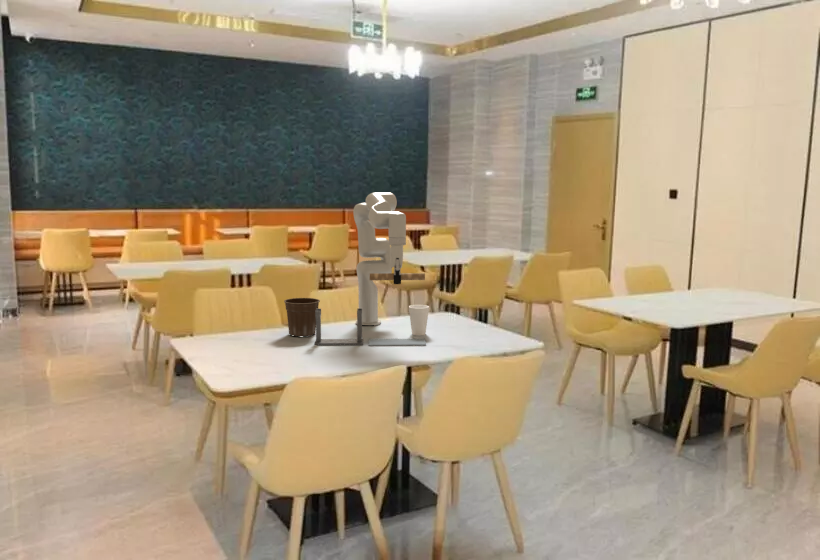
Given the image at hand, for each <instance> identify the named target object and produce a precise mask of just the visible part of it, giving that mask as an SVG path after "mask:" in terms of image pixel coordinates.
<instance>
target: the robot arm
mask: <svg viewBox="0 0 820 560" xmlns="http://www.w3.org/2000/svg"><path fill="white" fill-rule="evenodd" d="M397 204H398V203H397V197H396V195H395V194H394V193H392V192H371V193H369V194H368V195H367V196H366V197H365V202H360V203H357V204H355V205H354V207H353V212H352V213H353V218H354V219H353V220H354V222H355V226H356V230H357V242H358V254H359V256H360V257H361V258H369V259H370V258H380V259H379V260H378V259H376V260H375V259H374V260H373V259H372V260H362V261H360V262H358V263H357V265H356V275H357V283H358V308H362V325H374V326H380V325H381V324H380V323H382V322H381V320H380V319H379V306H378V305H379V303H378V302H379V296H378V295H379V294H378V293H379V290H378V286H377V285H376V283H375V282H374V280H370V273H392V272H393V273H394V280H392V281H393V285H402V280H401V271H402V270H401V269H402V268H403V262H404V261H403V260H404V246H406V245H407V244H406V243H407V216H406V214H405V213H404V212H400V211H395V210H396V207H397ZM376 229H378V230H383V229H384V230H388V238H385V237H379V238H378V237H376ZM355 324H356V325H357V320H355Z"/></svg>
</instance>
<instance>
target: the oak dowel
mask: <svg viewBox="0 0 820 560" xmlns="http://www.w3.org/2000/svg"><path fill="white" fill-rule="evenodd" d="M370 280H373V281H393V280H394V272H393V273H370ZM425 280H426V274H425V273H424V272H422V273H421V272H419V273H416V272H415V273H412V272H411V273H407V272H405V273H403V272H402V273H401V281H425Z"/></svg>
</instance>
